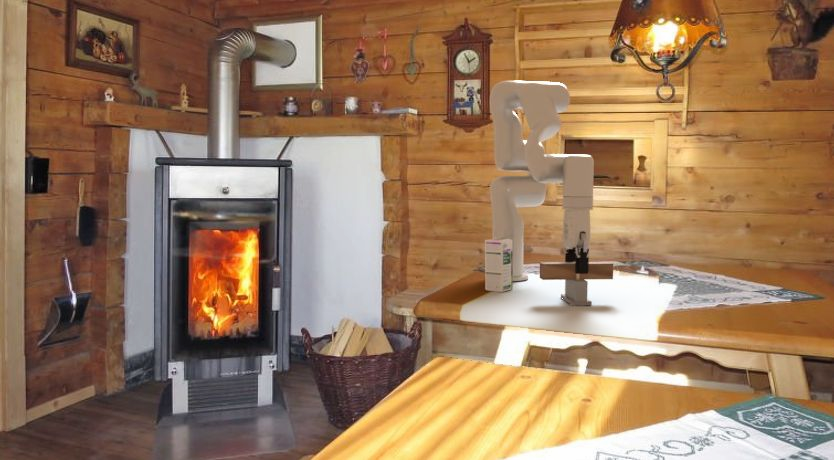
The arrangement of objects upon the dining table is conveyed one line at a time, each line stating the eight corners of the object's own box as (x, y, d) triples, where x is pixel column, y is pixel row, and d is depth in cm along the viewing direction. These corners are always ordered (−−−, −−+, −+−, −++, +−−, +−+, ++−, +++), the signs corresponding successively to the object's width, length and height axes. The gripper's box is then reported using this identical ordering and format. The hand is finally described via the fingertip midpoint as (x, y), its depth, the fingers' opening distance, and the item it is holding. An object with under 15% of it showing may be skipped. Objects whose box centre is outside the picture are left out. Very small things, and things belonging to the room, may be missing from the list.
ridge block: (560, 297, 187) (561, 275, 186) (579, 297, 187) (579, 275, 187) (571, 305, 176) (572, 282, 176) (591, 305, 176) (592, 281, 176)
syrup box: (502, 292, 195) (503, 240, 193) (484, 290, 198) (484, 238, 197) (512, 289, 199) (513, 238, 198) (494, 287, 203) (495, 237, 202)
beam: (539, 277, 183) (539, 261, 182) (608, 277, 183) (608, 261, 183) (542, 279, 179) (542, 263, 179) (612, 279, 180) (613, 263, 179)
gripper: (554, 202, 188) (553, 266, 189) (572, 205, 171) (570, 276, 172) (582, 202, 188) (581, 265, 190) (602, 205, 171) (601, 275, 173)
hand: (576, 270), depth 181 cm, fingers open, 9 cm apart
